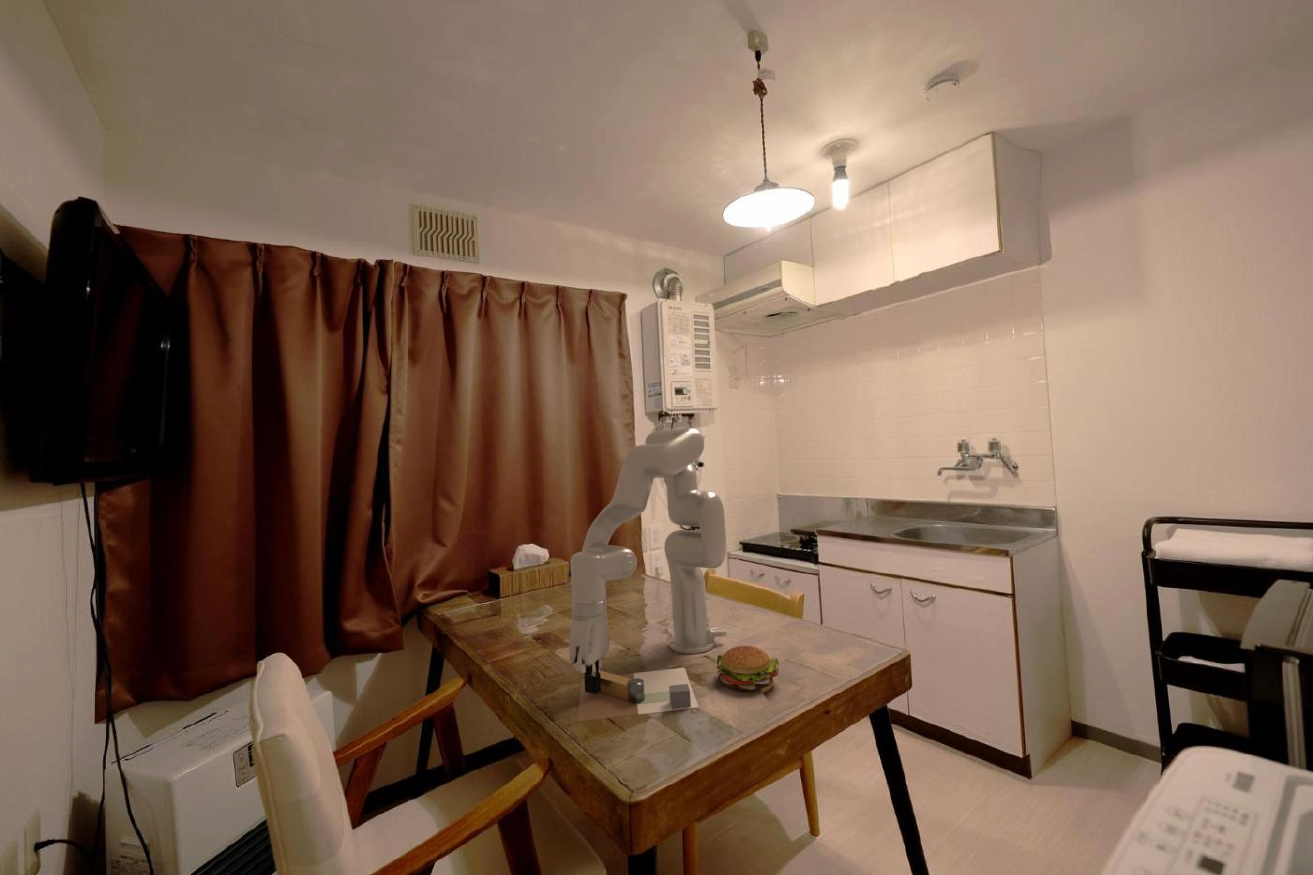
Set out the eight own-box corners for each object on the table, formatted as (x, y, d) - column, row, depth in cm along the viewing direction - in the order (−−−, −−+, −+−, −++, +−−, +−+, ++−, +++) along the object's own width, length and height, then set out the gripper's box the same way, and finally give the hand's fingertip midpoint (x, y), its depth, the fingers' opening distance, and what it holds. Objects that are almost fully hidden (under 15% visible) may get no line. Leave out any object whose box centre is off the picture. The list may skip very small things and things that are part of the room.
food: (793, 686, 114) (790, 650, 114) (742, 705, 108) (740, 667, 108) (754, 664, 126) (751, 632, 126) (706, 680, 120) (704, 646, 120)
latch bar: (648, 697, 111) (647, 680, 111) (637, 704, 108) (636, 687, 108) (600, 683, 119) (599, 667, 119) (590, 689, 116) (589, 673, 116)
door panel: (684, 672, 125) (683, 653, 125) (698, 712, 106) (697, 690, 106) (581, 684, 122) (580, 664, 122) (577, 727, 103) (575, 704, 103)
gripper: (592, 597, 122) (595, 675, 122) (555, 617, 108) (559, 704, 108) (620, 599, 119) (623, 679, 118) (586, 620, 105) (589, 710, 105)
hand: (593, 691), depth 113 cm, fingers closed
